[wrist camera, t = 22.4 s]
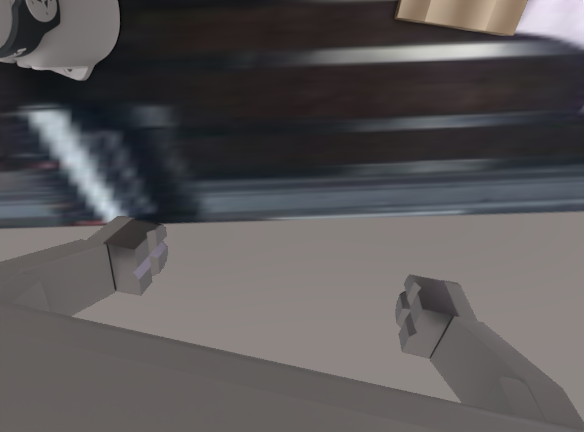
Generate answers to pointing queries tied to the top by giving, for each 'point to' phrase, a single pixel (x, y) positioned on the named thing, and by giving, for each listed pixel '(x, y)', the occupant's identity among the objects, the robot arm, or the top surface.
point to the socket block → (464, 14)
